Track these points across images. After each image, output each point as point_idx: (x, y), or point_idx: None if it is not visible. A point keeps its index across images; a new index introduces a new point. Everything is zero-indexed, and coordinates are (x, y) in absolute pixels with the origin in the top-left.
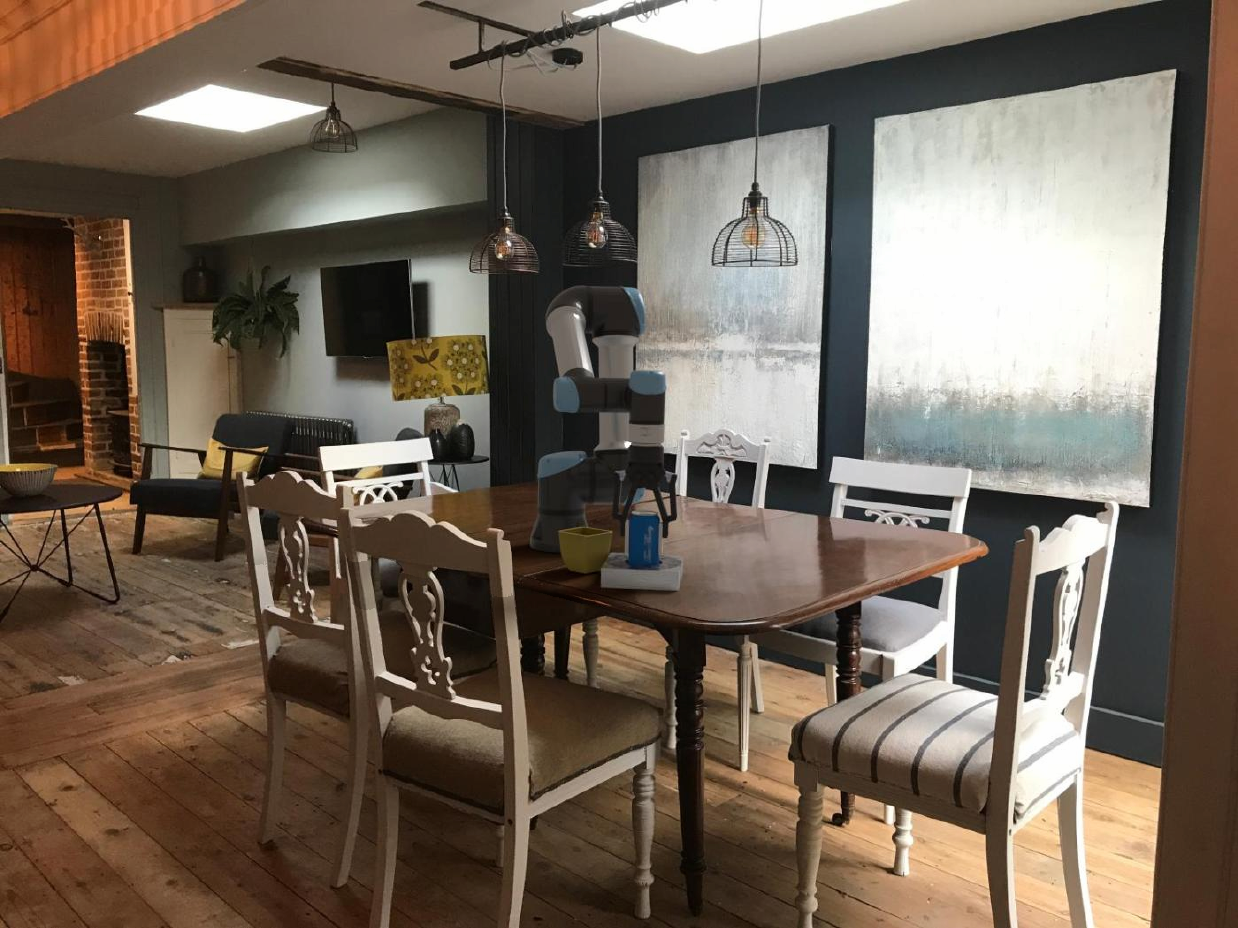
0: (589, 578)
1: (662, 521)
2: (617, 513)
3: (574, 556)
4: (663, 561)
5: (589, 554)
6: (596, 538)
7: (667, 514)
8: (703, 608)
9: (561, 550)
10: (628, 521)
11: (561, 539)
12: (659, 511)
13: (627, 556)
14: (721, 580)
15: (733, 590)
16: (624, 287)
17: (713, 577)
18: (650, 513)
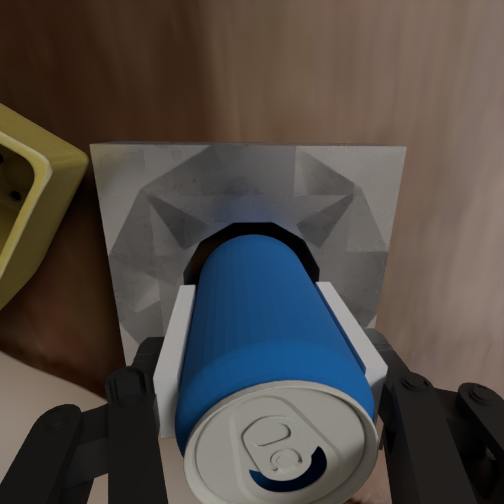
0: (83, 271)
1: (382, 435)
2: (87, 495)
3: None
4: (323, 269)
5: (31, 276)
6: (9, 275)
7: (441, 410)
8: (382, 453)
9: None
10: (171, 405)
11: None
12: (392, 499)
13: (180, 212)
14: (479, 216)
15: (480, 316)
16: None
17: (464, 181)
18: (322, 436)
